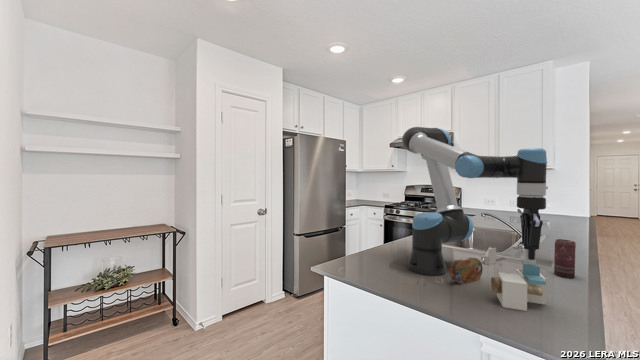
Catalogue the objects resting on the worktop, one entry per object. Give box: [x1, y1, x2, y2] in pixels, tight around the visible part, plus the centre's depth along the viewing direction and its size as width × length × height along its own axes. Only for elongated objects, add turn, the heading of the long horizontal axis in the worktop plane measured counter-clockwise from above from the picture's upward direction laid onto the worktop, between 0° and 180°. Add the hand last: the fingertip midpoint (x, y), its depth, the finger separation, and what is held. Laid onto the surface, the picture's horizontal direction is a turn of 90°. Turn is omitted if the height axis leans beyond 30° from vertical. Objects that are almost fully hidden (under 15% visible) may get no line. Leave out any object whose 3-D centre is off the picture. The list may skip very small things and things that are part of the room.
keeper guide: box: [514, 268, 547, 305], centre depth 89 cm, size 6×7×8 cm
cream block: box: [496, 271, 528, 312], centre depth 86 cm, size 6×8×8 cm
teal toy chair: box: [521, 263, 547, 286], centre depth 86 cm, size 4×7×4 cm, turn 158°
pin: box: [490, 276, 543, 296], centre depth 85 cm, size 13×5×5 cm, turn 68°
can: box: [553, 238, 577, 279], centre depth 109 cm, size 6×6×14 cm
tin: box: [449, 257, 484, 285], centre depth 104 cm, size 15×3×8 cm, turn 114°
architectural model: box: [481, 246, 497, 266], centre depth 125 cm, size 3×7×7 cm, turn 120°
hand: (529, 268), depth 90 cm, fingers closed
